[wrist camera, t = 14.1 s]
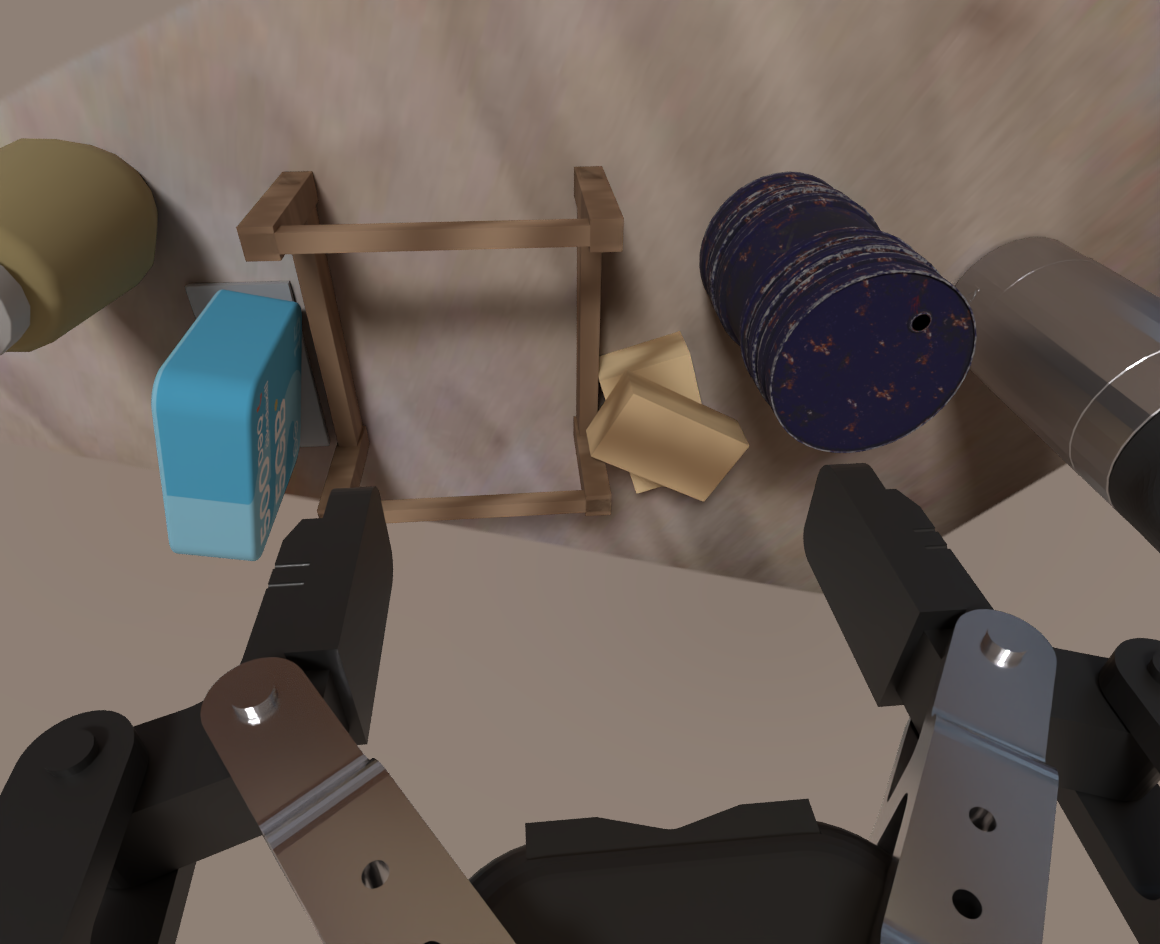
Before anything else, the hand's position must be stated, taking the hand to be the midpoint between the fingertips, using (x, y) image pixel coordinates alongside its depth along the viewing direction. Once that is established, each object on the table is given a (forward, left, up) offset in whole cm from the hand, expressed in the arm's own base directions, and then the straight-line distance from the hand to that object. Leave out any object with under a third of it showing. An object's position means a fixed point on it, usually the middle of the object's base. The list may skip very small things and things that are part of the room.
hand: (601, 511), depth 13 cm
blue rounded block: (+18, +15, -33) cm, 40 cm away
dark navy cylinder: (-15, +8, -33) cm, 37 cm away
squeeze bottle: (+24, +4, -33) cm, 41 cm away
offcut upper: (-8, +19, -30) cm, 36 cm away
